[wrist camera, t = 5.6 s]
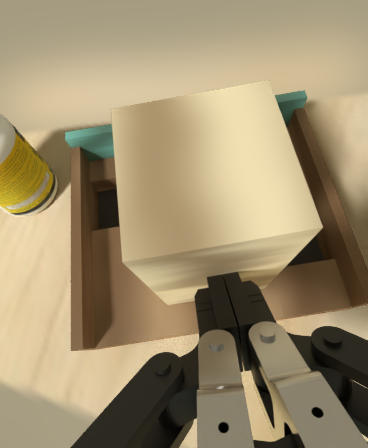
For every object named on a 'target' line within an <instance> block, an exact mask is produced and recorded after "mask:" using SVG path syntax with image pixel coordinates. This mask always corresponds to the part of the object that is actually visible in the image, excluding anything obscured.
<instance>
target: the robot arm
mask: <svg viewBox="0 0 368 448" xmlns="http://www.w3.org/2000/svg"><path fill="white" fill-rule="evenodd" d="M207 283H208V288H203V289H198V290H197V292H196V294H195V296H194V299H195V306H196V314H197V321H198V329H199V342H198V344H197V346H196V347H195V348H194V349H193V350H192V351H191V352H190V353H188V354H186V355H184V356H182V357H178V356H177V355H176V354H174V353H170V352H163V353H159V354H156V355H155V356H153V357H152V358H150V359H149V360H148V361H147V362H146V364H145V365H144V366H143V367H142V368H141V369H140V370H139V371H138V373H137V374H136V375H135V376H134V377H133V378H132V379H131V380H130V382H129V383H128V384H127V385H126V386H125V387H124V388H123V389H122V391H121V392H120V393H119V394H118V395H117V396H116V397H115V398H114V399H113V401H112V402H111V403H110V404H109V405H108V406H107V407H106V408H105V410H104V411H103V412H102V413H101V414H100V415H99V416H98V417H97V419H96V420H95V421H94V422H93V423H92V424H91V425H90V426H89V428H88V429H87V430H86V431H85V432H84V433H83V434H82V436H81V437H80V438H79V439H78V440H77V441H76V442H75V443H74V445H73V446H72V447H71V448H179V446H180V445H181V443H182V442H183V440H184V438H185V437H186V435H187V433H188V432H189V430H190V429H191V427H192V425H193V421H194V419H196V418H197V443H198V448H368V442H366V440H365V439H364V437H363V436H362V434H363V435H364V436H366V437H367V438H368V389H367V388H368V340H365V339H363V338H361V337H358V336H356V335H354V334H352V333H349V332H347V331H345V330H343V329H340V328H337V327H332V326H323V327H319V328H317V329H315V330H314V331H313V333H312V335H311V336H300V335H294V334H290V333H288V332H286V331H285V329H284V328H283V327H282V326H280V325H279V324H277V323H276V321H275V319H274V317H273V315H272V313H271V311H270V309H269V307H268V305H267V302H266V301H265V298H264V296H263V295H262V292H261V290H260V288H259V286H258V285H256V284H255V283H254V282H252V281H251V280H250V281H244V282H242V281H241V278H240V276H239V273H238V272H234V273H228V274H223V277H222V275H216V276H211V277H207ZM242 363H243V366H244V370H245V371H249V370H251V372H252V375H253V379H254V388H255V391H256V393H257V396H258V399H259V401H260V404H261V406H262V409H263V411H264V414H265V417H266V419H267V422H268V424H269V427H270V429H271V432H272V435H273V438H274V442H266V441H258V440H253V438H252V432H251V426H250V421H249V415H248V409H247V404H246V398H245V393H244V387H243V385H242V378H241V372H243V366H242ZM353 380H354V381H356V382H357V383H356V382H354V381H353ZM358 383H359V384H361V385H363V386H365V387H367V388H365V387H363V386H361V385H359V384H358Z"/></svg>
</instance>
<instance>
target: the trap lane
mask: <svg viewBox="0 0 368 448" xmlns="http://www.w3.org/2000/svg"><path fill="white" fill-rule="evenodd" d="M275 98H276V101H277V104H278V106H279V109H280V112H281V114H282V117H283V120H284V123H285V125H286V128H287V131H288V133H289V136H290V139H291V142H292V144H293V147H294V150H295V153H296V155H297V158H298V161H299V163H300V166H301V169H302V172H303V174H304V177H305V180H306V183H307V185H308V188H309V191H310V193H311V196H312V199H313V202H314V204H315V207H316V210H317V213H318V215H319V218H320V221H321V223H322V226H323V228H322V229H321V230H320V231H319V232H318V233H317V234H316V235H315V237H314V238H313V239H312V240H311V241H310V242H309V243H308V244H307V245H306V246H305V247H304V248H303V249H302V250H301V251H300V252H299V253H298V254H297V255H296V256H295V257H294V258H293V259H292V260H291V262H290V263H289V264H288V265H287V266H286V267H285V268H284V269H283V270H282V271H281V272H280V273H279V274H278V275H277V276H276V277H275V278H274V279H273V280H272V281H271V282H270V283H269V284H268V286H267V287H266V288H265V289H260V290H261V292H262V295H263V296H264V298H265V301H266V302H267V305H268V307H269V309H270V311H271V313H272V315H273V317H274V319H275V321H277V320H283V319H289V318H295V317H301V316H308V315H314V314H320V313H326V312H333V311H339V310H345V309H350V308H354V307H358V306H362V305H366V304H368V270H367V267H366V265H365V262H364V260H363V257H362V255H361V252H360V250H359V247H358V245H357V242H356V240H355V237H354V235H353V232H352V230H351V227H350V224H349V222H348V219H347V217H346V214H345V212H344V209H343V207H342V204H341V202H340V199H339V197H338V194H337V192H336V189H335V186H334V184H333V181H332V179H331V176H330V174H329V171H328V169H327V166H326V164H325V161H324V159H323V156H322V154H321V151H320V149H319V146H318V143H317V141H316V138H315V136H314V133H313V131H312V128H311V126H310V123H309V121H308V118H307V116H306V113H305V111H304V108H303V107H304V105H305V102H306V100H307V95H306V93H305V91H298V92H292V93H286V94H281V95H275ZM65 140H66V142H67V143H68V145H69V146H70V147H71V351H78V350H96V349H103V348H109V347H115V346H121V345H127V344H134V343H140V342H146V341H152V340H158V339H165V338H171V337H177V336H183V335H190V334H196V333H199V329H198V321H197V314H196V306H195V301H190V302H184V303H178V304H172V305H167V304H166V303H165V302H164V301H163V300H162V299H161V298H160V297H158V296H157V295H156V294H155V293H154V292H153V291H152V290H151V289H150V288H149V287H148V286H147V285H146V284H145V283H144V282H143V281H142V280H140V279H139V278H138V277H137V276H136V275H135V274H134V273H133V272H132V271H131V270H130V269H129V268H128V267H127V266H126V265H125V264H124V263H122V250H121V237H120V223H119V210H118V197H117V184H116V171H115V157H114V144H113V131H112V124H110V125H104V126H98V127H93V128H87V129H81V130H75V131H70V132H65Z"/></svg>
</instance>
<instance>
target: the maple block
mask: <svg viewBox="0 0 368 448" xmlns="http://www.w3.org/2000/svg"><path fill="white" fill-rule="evenodd" d="M111 117H112V131H113V144H114V157H115V171H116V184H117V197H118V210H119V223H120V237H121V250H122V263H124V264H125V265H126V266H127V267H128V268H129V269H130V270H131V271H132V272H133V273H134V274H135V275H136V276H137V277H138V278H139V279H140V280H142V281H143V282H144V283H145V284H146V285H147V286H148V287H149V288H150V289H151V290H152V291H153V292H154V293H155V294H156V295H157V296H158V297H160V298H161V299H162V300H163V301H164V302H165V303H166V304H167V305H172V304H178V303H184V302H190V301H195V299H194V296H195V294H196V292H197V290H198V289H203V288H208V283H207V277H211V276H216V275H222V277H223V274H228V273H234V272H238V273H239V276H240V278H241V281H242V282H244V281H250V280H251V281H252V282H254V283H255V284H256V285H258V286H259V288H260V289H265V288H266V287H267V286H268V284H269V283H270V282H271V281H272V280H273V279H274V278H275V277H276V276H277V275H278V274H279V273H280V272H281V271H282V270H283V269H284V268H285V267H286V266H287V265H288V264H289V263H290V262H291V260H292V259H293V258H294V257H295V256H296V255H297V254H298V253H299V252H300V251H301V250H302V249H303V248H304V247H305V246H306V245H307V244H308V243H309V242H310V241H311V240H312V239H313V238H314V237H315V235H316V234H317V233H318V232H319V231H320V230H321V229H322V228H323V226H322V223H321V221H320V218H319V215H318V213H317V210H316V207H315V204H314V202H313V199H312V196H311V193H310V191H309V188H308V185H307V183H306V180H305V177H304V174H303V172H302V169H301V166H300V163H299V161H298V158H297V155H296V153H295V150H294V147H293V144H292V142H291V139H290V136H289V133H288V131H287V128H286V125H285V123H284V120H283V117H282V114H281V112H280V109H279V106H278V104H277V101H276V98H275V95H274V93H273V90H272V87H271V85H270V82H269V81H263V82H257V83H251V84H246V85H240V86H235V87H230V88H224V89H218V90H213V91H208V92H203V93H197V94H191V95H186V96H180V97H175V98H169V99H164V100H159V101H153V102H147V103H142V104H136V105H131V106H125V107H120V108H114V109H111Z"/></svg>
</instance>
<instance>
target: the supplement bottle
mask: <svg viewBox="0 0 368 448" xmlns="http://www.w3.org/2000/svg"><path fill="white" fill-rule="evenodd" d="M57 187H58V181H57V177H56V175H55V173H54V171H53V170H52V169H51V168H50V166H49V165H48V164H47V163H46V162H45V161H44V160H43V159H42V157H41V156H40V155H39V154H38V153H37V152H36V151H35V150H34V148H33V147H32V146H31V145H30V144H29V143H28V142H27V141H26V140H25V138H24V137H23V136H22V135H21V134H20V133H19V132H18V131H17V129H16V128H15V127H14V126H13V125H12V124H11V123H10V122H9V121H8V120H7V119H6V118H5V117H4V116H2V115H1V114H0V209H1V210H2V211H4V212H6V213H8V214H10V215H12V216H16V217H27V216H31V215H34V214H37V213H39V212H40V211H42V210H43V209H45V208H46V207H47V206H48V205H49V204H50V203H51V201H52V200H53V198H54V197H55V194H56V191H57Z"/></svg>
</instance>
